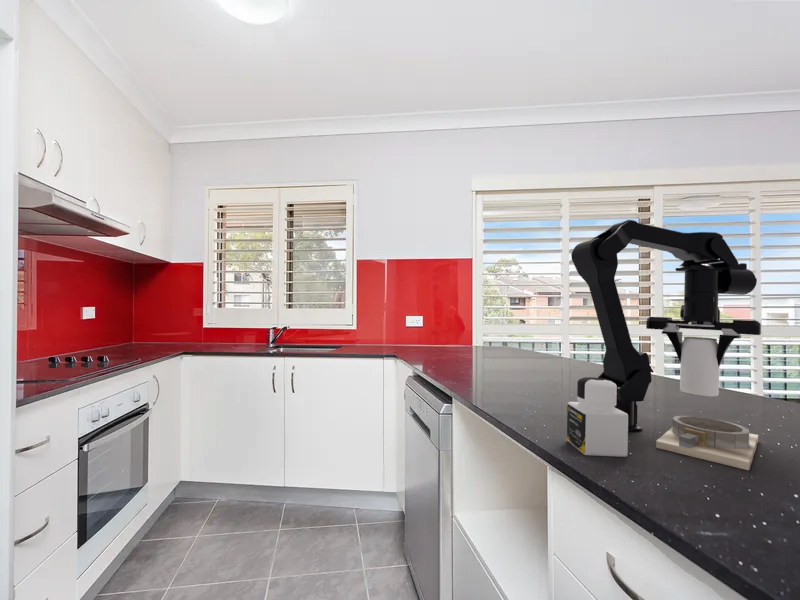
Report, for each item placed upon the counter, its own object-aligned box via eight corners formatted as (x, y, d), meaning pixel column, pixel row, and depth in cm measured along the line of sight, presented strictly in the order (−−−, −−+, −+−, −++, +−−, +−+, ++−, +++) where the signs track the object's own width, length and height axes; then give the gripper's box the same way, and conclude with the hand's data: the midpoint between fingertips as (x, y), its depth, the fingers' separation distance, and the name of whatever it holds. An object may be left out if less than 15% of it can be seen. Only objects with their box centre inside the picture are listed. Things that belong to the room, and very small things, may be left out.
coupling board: (749, 470, 57) (749, 446, 58) (656, 447, 66) (656, 426, 66) (758, 441, 71) (758, 421, 71) (680, 425, 80) (680, 408, 80)
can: (704, 391, 83) (705, 337, 83) (726, 398, 77) (728, 339, 77) (673, 389, 84) (674, 336, 84) (693, 396, 77) (694, 338, 78)
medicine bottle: (566, 440, 69) (567, 374, 69) (605, 442, 68) (607, 375, 69) (584, 455, 61) (585, 382, 62) (628, 457, 61) (629, 383, 61)
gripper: (763, 295, 80) (761, 368, 79) (658, 294, 93) (656, 358, 93) (760, 291, 72) (758, 373, 72) (646, 292, 85) (644, 361, 85)
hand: (699, 365), depth 80 cm, fingers closed on can, 6 cm apart
